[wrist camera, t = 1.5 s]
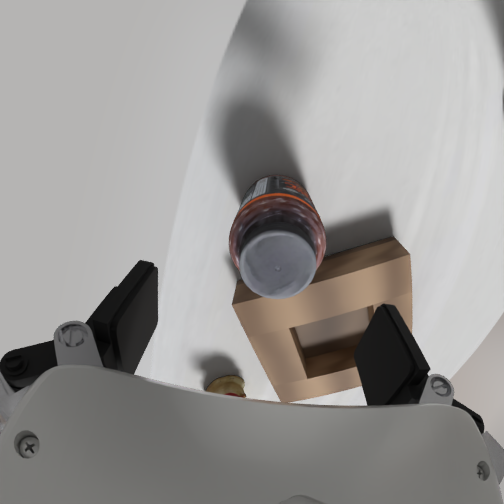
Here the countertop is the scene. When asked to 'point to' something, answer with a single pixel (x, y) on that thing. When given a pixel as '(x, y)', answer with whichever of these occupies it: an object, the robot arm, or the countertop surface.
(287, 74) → the countertop surface
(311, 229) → the supplement bottle
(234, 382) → the chocolate bunny
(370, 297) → the socket block
